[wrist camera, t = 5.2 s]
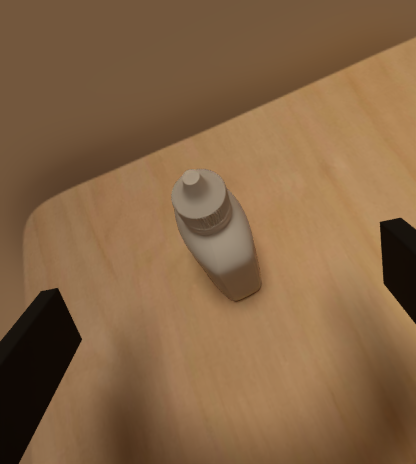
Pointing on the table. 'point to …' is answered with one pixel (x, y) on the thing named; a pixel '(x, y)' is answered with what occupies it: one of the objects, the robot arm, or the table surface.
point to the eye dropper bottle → (217, 232)
